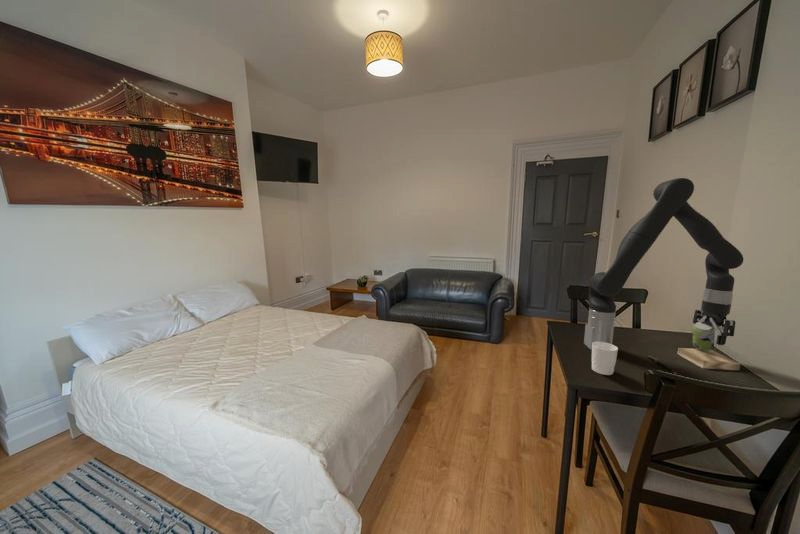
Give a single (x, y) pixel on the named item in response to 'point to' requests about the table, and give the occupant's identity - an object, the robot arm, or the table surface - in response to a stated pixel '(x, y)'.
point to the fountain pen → (660, 364)
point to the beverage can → (703, 336)
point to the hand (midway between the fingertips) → (709, 340)
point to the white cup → (603, 357)
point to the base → (708, 359)
